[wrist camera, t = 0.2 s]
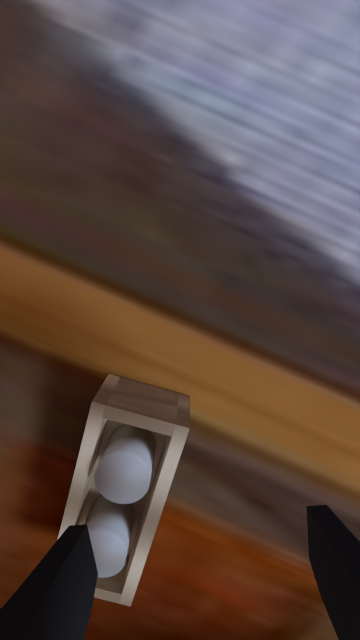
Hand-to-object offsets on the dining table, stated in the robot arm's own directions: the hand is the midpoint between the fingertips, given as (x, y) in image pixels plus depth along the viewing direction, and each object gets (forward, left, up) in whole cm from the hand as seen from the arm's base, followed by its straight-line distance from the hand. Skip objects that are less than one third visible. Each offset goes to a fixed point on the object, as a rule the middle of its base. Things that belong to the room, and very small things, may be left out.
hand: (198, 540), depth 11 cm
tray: (-3, +6, -10) cm, 11 cm away
